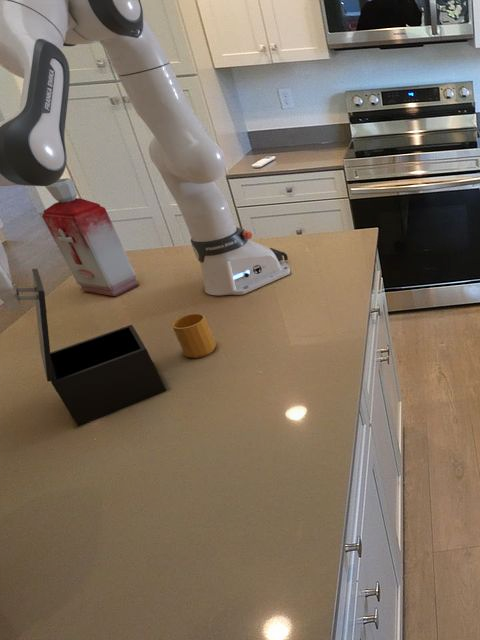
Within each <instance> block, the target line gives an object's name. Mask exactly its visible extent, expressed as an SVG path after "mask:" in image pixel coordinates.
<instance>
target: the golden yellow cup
mask: <svg viewBox="0 0 480 640" xmlns="http://www.w3.org/2000/svg"><path fill="white" fill-rule="evenodd" d="M206 318H207V317H206V316H205V315H204V314H203V313H200V312H197V313H189V314H185V315H183V316H180V317H178V318H177V319H175V320H174V321H173V322H172V323H171V328H172V329H173V332H174V334H175V336H176V339H177V342H178V343H179V345H180V347H181V350H182V352H183V354H184V356H185V357H187V358H191V359H199V358H203V357H205V356H207V355H210V354H211V353H212V352H214V350H215V349H216V347H217V343H216V340H215V338H214V336H213V333H212V331H211V328H210V326H209V324H208V321H207V319H206Z"/></svg>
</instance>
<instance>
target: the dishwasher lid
mask: <svg viewBox="0 0 480 640" xmlns="http://www.w3.org/2000/svg"><path fill="white" fill-rule="evenodd" d="M31 272H32V282H33V286H17V285H16V284H14V285H13V288H12V290H13V292H14V294H15V295H16V297H17V298H18V300H19V301H32V300H34V301H35V302H34V303H35V313H36V321H37V330H38V331H37V332H38V341H39V349H40V350H39V351H40V356H41V360H42V361H41V362H42V364H43V368H44V373H45V377H46V381H47V382H51V381H53V376H52V365H51V355H50V353H51V345H50V335H49V327H48V315H47V306H46V304H47V303H46V294H45V289H44V286H43V282H42V279H41V275H40V272H39V269H38V268H32V269H31ZM19 293H33V294H19Z"/></svg>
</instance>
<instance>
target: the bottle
mask: <svg viewBox="0 0 480 640" xmlns="http://www.w3.org/2000/svg"><path fill="white" fill-rule="evenodd" d="M44 187H45V188H46V189H47V191H48V192H49V193H50V195H51V196H52V197H53V199H54V200H55V201H57V202H55V203H53V204H52V205H50V206H49V207H47V208H46V209H44V210H43V214H42V215H41V217H42V219H43V222H44V223H45V225H46V227H47V229H48V231H49V232H50V235H51V236H52V238H53V240H54V243H55V244H56V245H57V248H58V249H59V251H60V254H61V255H62V257H63V259H64V261H65V262H66V265H67V267H68V268H69V270H70V272H71V274H72V276H73V278H74V280H75V282H76V283H77V284H78V285H79V286H80V291H82V292H83V291H84V292H88V293H94V294H99V295H106V296H109V297H110V296H111V297H117V296H119V295H122V294H124V293H126V292H127V291H129V290H131V289H134V288H135V287H137V286H138V284H139V283H140V281H139V280H138V279H137V274H136V272H135V270H134V267H133V265H132V264H131V261H130V259H129V257H128V255H127V252H126V250H125V248H124V246H123V244H122V242H121V239H120V238H119V235H118V233H117V231H116V229H115V227H114V224H113V222H112V220H111V218H110V216H109V214H108V212H107V209H106V207H103V206H102V205H100V203H97V202H94V201H90V200H87V199H84V198H81V197H77V196H78V193H77V189H76V185H75V181H74V180H73V179H71V178H69V177H67V178H65V177H64V178H60V179H59V180H58V181H57V182H55V183H54V184H52V185H48V186H44Z"/></svg>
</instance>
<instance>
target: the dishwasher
mask: <svg viewBox="0 0 480 640" xmlns="http://www.w3.org/2000/svg"><path fill="white" fill-rule="evenodd" d="M50 355H51V365H52V376H53V381H50V382H51V385H52V386H53V388H54V390H55V392H56V393H57V395H58V396H59V398H60V399H61V401H62V403H63V404H64V406H65V407H66V409H67V411H68V412H69V414H70V416H71V417H72V419H73V421H74V422H75V423H76V424H75V425H77V427H81V426H84V425H85V424H88V423H90V422H92V421H95V420H98V419H100V418H102V417H105V416H107V415H110V414H112V413H115V412H117V411H120V410H122V409H124V408H127V407H129V406H131V405H134V404H136V403H139V402H141V401H145V400H146V399H149V398H151V397H154V396H157V395H159V394H161V393H164V392H166V391H167V388H166V387H165V386H166V385H165V384H164V382H163V380H162V378H161V376H160V374H159V371H158V369H157V367H156V366H155V364H154V362H153V359H152V357H151V355H150V353H149V351H148V349H147V348H146V345H145V344H144V342H143V341H142V339H141V337H140V336H139V334H138V332H137V330H136V329H135V327H134V325H133V324H129V325H126V326H124V327H120V328H118V329H117V328H116V329H114V330H112V331H109V332H105V333H103V334H99V335H97V336H94V337H91V338H89V339H86V340H83V341H80V342H77V343H74V344H71V345H69V346H68V345H67V346H65V347H62V348H60V349H57V350H54V351H50Z"/></svg>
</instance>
